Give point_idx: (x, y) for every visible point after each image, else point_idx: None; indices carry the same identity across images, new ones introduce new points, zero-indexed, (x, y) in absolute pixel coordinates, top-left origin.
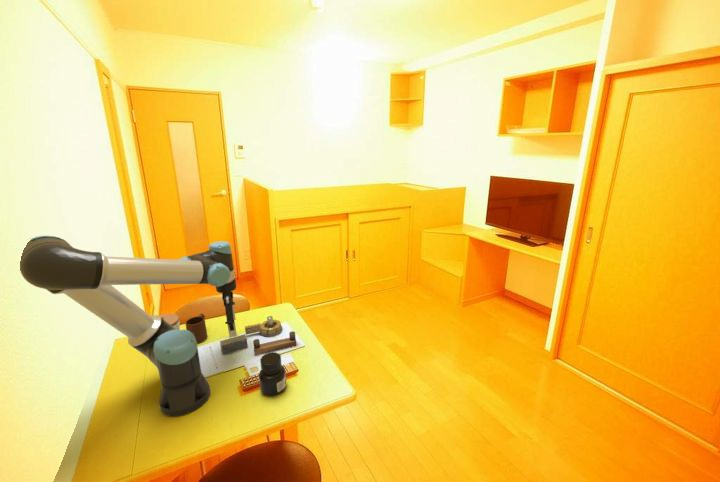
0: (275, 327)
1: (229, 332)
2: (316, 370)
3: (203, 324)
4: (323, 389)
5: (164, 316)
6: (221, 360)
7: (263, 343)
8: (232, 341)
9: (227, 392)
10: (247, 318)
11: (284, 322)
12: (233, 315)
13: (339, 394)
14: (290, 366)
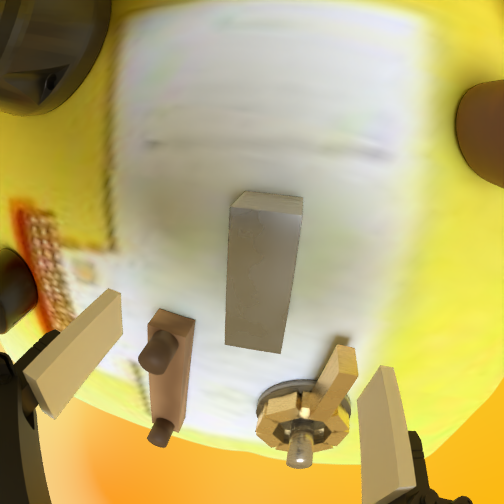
0: (265, 435)
1: (83, 317)
2: None
3: None
4: (13, 342)
5: None
6: (197, 174)
7: (181, 367)
8: (242, 279)
9: (23, 165)
10: (470, 371)
11: None
12: (365, 425)
13: (6, 348)
14: None
